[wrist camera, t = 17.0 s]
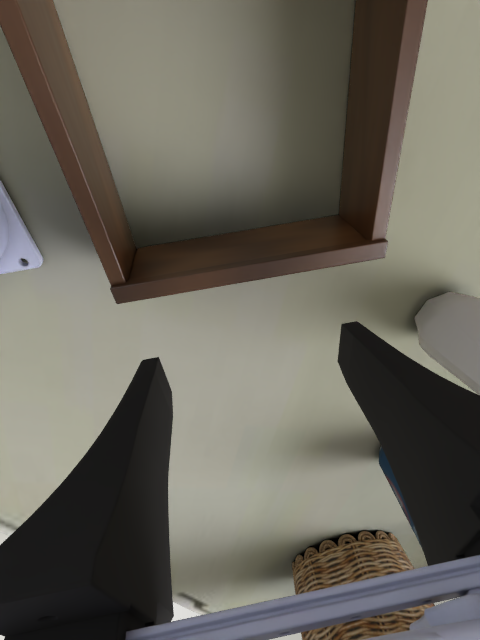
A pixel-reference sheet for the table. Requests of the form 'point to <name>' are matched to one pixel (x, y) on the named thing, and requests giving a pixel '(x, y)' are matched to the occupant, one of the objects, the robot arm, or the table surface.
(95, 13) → the table surface
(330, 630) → the wicker basket
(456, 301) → the salt shaker
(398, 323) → the table surface
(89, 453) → the robot arm
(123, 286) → the open wooden tray
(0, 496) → the table surface
